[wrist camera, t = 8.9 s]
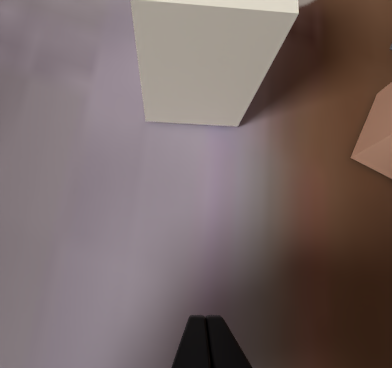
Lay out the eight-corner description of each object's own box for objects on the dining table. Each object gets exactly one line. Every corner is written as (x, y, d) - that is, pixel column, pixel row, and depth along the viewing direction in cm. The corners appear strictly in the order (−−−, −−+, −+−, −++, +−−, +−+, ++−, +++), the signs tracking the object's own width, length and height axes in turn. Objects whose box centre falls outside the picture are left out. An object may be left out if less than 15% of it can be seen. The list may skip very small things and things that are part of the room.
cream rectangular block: (237, 126, 17) (298, 13, 9) (145, 121, 17) (130, -2, 9) (237, 54, 18) (292, -104, 10) (149, 47, 18) (139, -121, 10)
